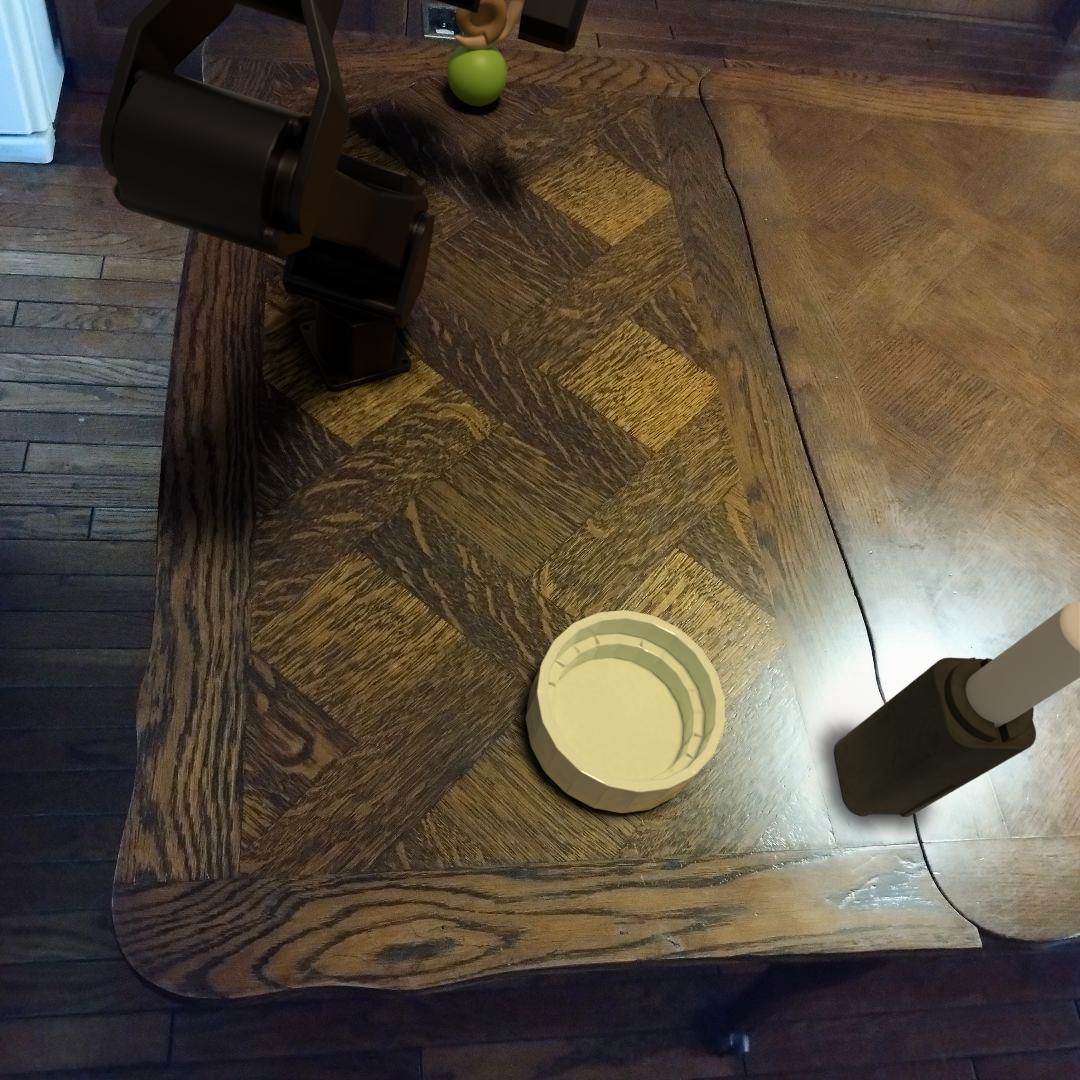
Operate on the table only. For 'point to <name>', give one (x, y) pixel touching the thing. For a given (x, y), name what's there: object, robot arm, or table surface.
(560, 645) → the bowl
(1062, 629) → the candle
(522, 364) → the table surface
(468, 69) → the snail figurine
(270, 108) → the robot arm
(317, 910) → the table surface
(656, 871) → the table surface
